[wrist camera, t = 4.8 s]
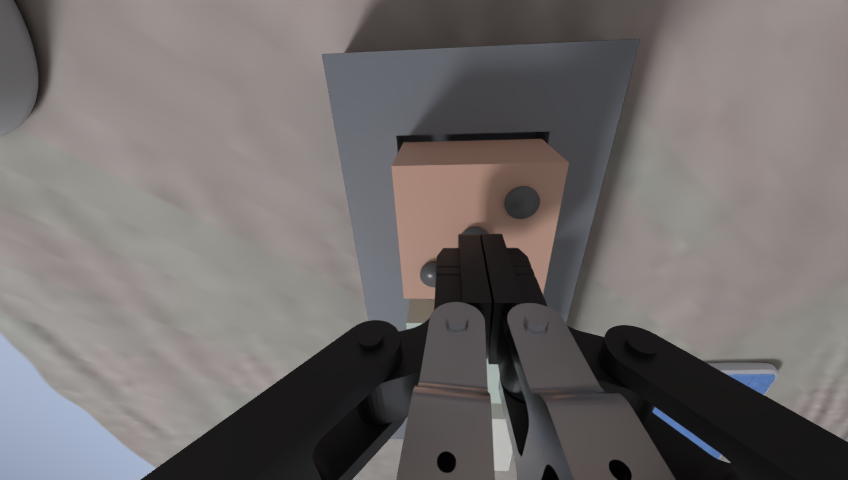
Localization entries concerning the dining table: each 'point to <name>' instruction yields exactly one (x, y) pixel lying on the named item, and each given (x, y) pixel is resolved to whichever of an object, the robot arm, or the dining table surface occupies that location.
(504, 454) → the key one pip
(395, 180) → the key three pips
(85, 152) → the dining table surface
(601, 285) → the dining table surface
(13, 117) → the cylinder vase
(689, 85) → the dining table surface
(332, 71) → the keypad board
